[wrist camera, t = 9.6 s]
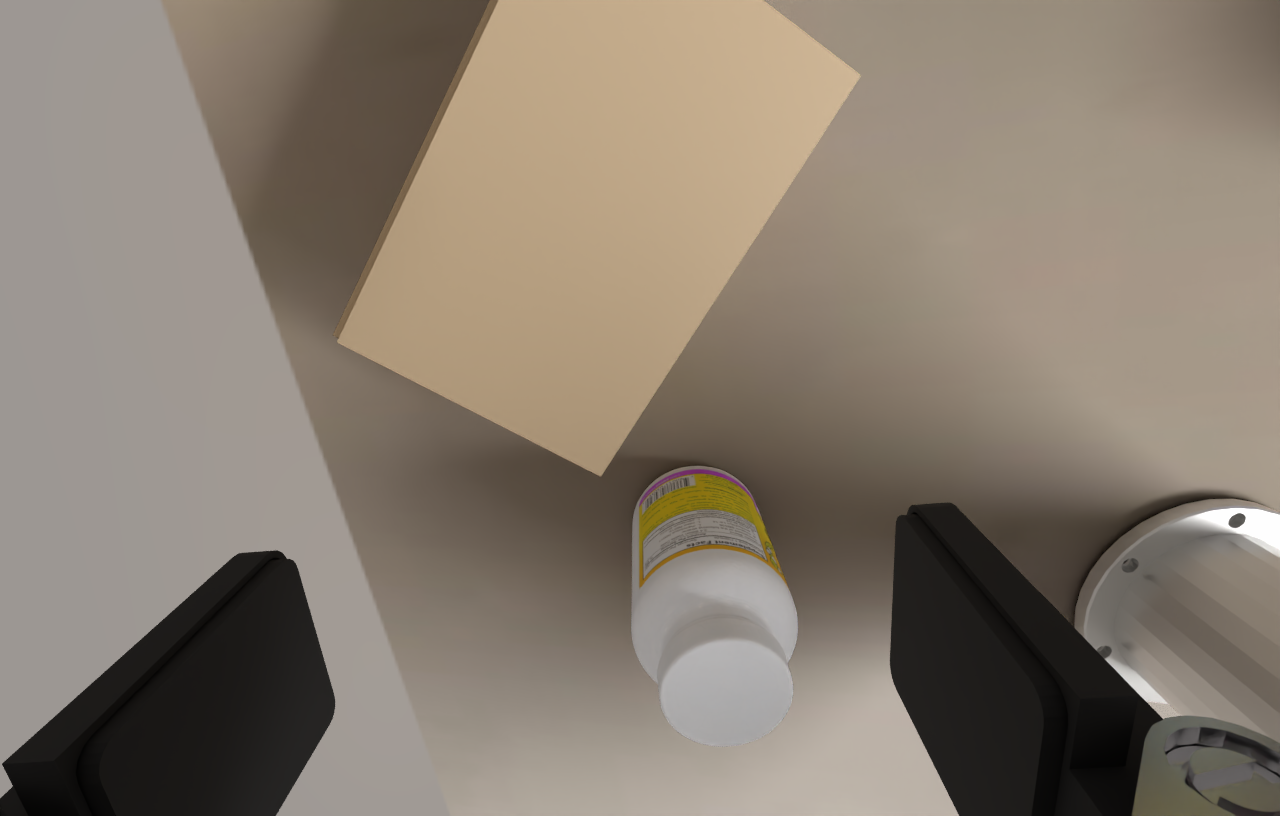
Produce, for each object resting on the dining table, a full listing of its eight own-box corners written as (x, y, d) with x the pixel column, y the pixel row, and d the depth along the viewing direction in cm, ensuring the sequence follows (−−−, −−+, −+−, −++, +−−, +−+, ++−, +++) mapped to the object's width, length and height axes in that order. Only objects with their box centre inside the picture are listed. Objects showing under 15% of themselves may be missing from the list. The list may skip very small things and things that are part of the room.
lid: (837, 82, 23) (861, 75, 21) (600, 452, 27) (600, 476, 25) (562, -126, 20) (559, -157, 18) (350, 322, 25) (328, 338, 23)
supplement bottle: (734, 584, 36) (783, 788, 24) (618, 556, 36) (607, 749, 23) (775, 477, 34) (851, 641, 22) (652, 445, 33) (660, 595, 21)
